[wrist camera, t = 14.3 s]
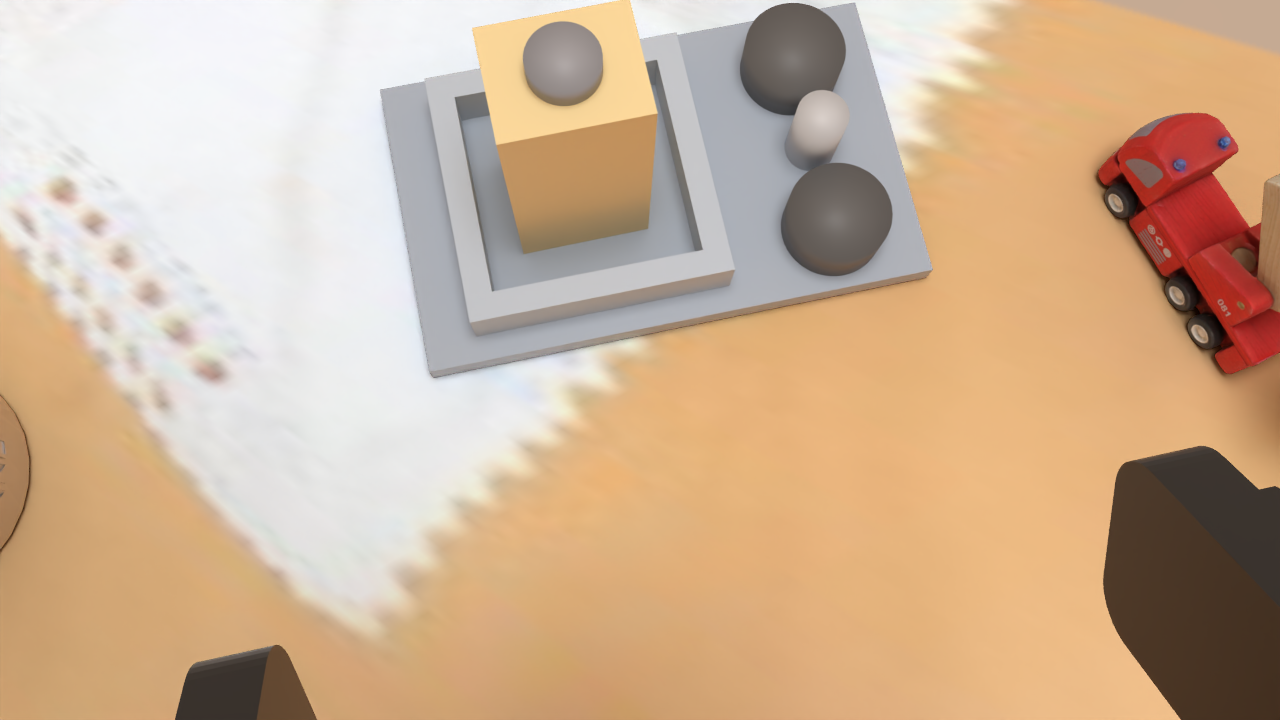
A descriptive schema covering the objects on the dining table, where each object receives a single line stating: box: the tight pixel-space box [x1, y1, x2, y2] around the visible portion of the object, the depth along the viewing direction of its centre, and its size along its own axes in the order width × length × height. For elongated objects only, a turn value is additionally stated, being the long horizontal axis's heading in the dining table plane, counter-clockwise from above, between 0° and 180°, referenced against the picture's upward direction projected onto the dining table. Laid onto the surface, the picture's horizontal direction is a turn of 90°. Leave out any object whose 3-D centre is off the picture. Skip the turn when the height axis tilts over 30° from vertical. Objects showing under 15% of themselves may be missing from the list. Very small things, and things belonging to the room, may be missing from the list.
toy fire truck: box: [1099, 113, 1280, 374], centre depth 39 cm, size 3×14×10 cm, turn 27°
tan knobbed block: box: [472, 0, 658, 254], centre depth 38 cm, size 5×4×11 cm
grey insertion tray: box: [380, 3, 933, 377], centre depth 42 cm, size 20×12×4 cm, turn 102°
